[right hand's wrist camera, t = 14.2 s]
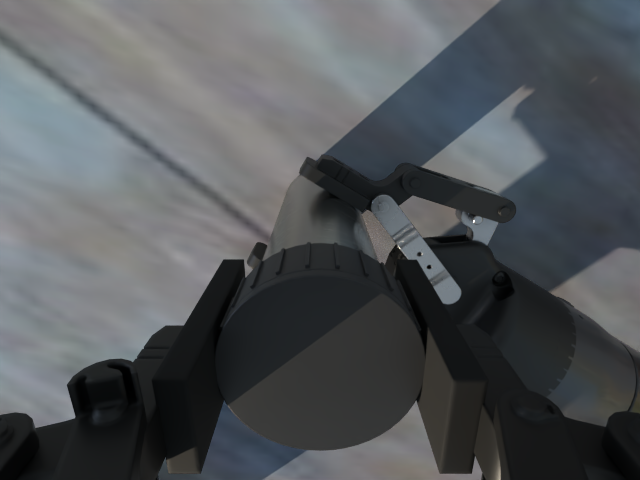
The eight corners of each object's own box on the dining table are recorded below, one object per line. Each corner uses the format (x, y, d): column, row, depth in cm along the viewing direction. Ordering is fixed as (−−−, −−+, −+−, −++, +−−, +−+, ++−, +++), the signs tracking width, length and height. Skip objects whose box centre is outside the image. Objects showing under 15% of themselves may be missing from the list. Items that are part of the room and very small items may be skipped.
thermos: (290, 241, 28) (251, 431, 12) (279, 173, 26) (216, 290, 10) (358, 233, 28) (411, 416, 12) (351, 164, 26) (402, 268, 10)
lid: (439, 352, 13) (464, 403, 11) (290, 420, 14) (285, 479, 12) (357, 205, 11) (365, 231, 9) (193, 295, 12) (166, 338, 10)
